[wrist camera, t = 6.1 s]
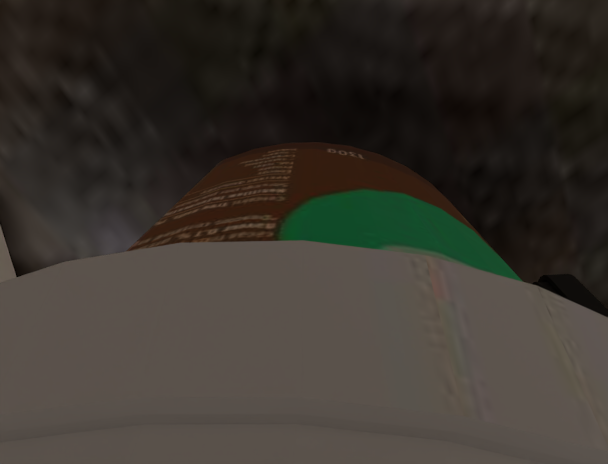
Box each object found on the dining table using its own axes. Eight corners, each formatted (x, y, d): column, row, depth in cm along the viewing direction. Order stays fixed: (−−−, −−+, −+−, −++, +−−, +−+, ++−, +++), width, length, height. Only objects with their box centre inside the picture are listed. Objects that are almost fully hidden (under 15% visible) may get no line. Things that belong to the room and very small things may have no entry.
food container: (568, 397, 15) (952, 1011, 6) (377, 452, 16) (455, 1032, 7) (450, -19, 10) (1549, -130, 1) (191, 103, 11) (-298, 527, 2)
